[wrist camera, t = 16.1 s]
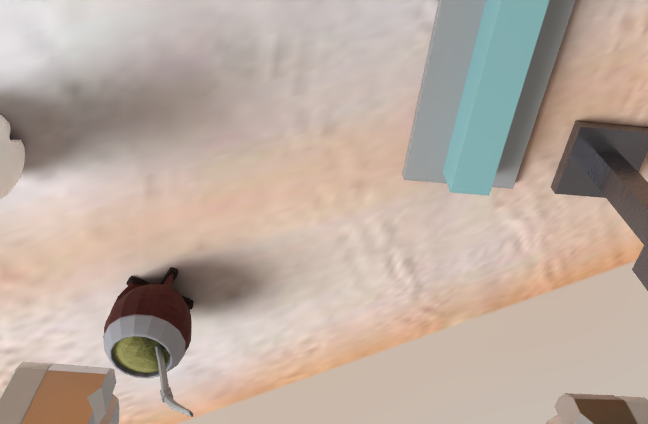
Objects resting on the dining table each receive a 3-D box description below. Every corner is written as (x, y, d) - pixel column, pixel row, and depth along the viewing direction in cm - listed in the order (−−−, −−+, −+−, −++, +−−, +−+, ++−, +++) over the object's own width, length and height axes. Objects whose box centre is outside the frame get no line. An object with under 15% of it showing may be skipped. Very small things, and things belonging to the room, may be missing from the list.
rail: (514, -113, 36) (530, -108, 33) (561, -107, 36) (580, -102, 33) (442, 172, 47) (450, 192, 44) (479, 175, 47) (489, 195, 44)
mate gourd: (111, 302, 54) (52, 444, 42) (142, 242, 51) (89, 379, 38) (186, 330, 57) (151, 474, 44) (221, 275, 53) (194, 415, 40)
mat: (468, -140, 35) (471, -139, 35) (610, -121, 36) (615, -120, 36) (402, 174, 47) (403, 179, 47) (510, 183, 48) (512, 188, 48)
